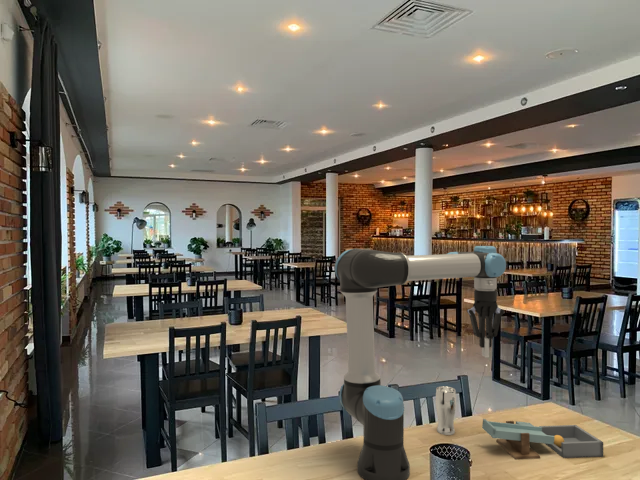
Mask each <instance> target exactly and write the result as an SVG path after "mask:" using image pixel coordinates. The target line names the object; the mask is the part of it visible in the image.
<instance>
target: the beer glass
mask: <svg viewBox="0 0 640 480" xmlns="http://www.w3.org/2000/svg"><path fill="white" fill-rule="evenodd" d="M435 389H436V391H435V408H436V415H437V427H436V432H437V433H439V434H441V435H444V436H453V435H454V434H455V433H456V432H455V426H454V425H455V424H454V419H455V414H456V409H457V392H456V389H455V388H454V387H451V386H445V385H444V386H443V385H442V386H437V387H436V388H435Z"/></svg>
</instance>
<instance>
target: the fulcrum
mask: <svg viewBox="0 0 640 480" xmlns="http://www.w3.org/2000/svg"><path fill="white" fill-rule="evenodd" d="M505 423H510V424H515V421H514V420H506V421H505ZM495 439H496V440H495V441H496V443H497V444H498V445H499V446H500V447H502V449H504V451H505V452H506V453H508V454H509V455H510V456H511V457H512V458H513V459H514V460H529V459H530V460H532V459H533V460H534V459H541V455H540V454H539V453H537V452H536V451H535V450H534V449H533V448H531V447H530V445H531V444H530V443H531V442H530V441H529V433H521V441H517V440H508V439H498V438H495Z"/></svg>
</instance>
